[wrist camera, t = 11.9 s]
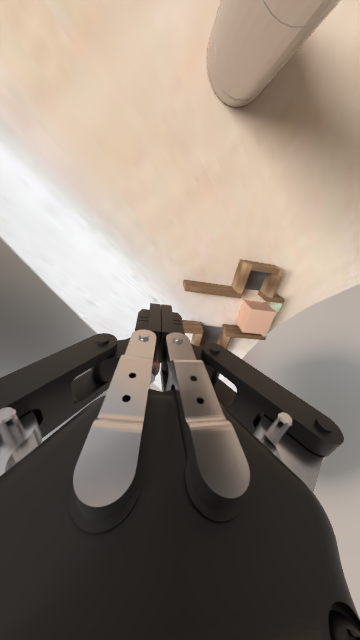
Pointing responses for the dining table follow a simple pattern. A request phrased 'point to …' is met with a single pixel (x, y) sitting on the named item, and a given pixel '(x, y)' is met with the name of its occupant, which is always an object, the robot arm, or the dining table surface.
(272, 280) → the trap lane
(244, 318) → the block
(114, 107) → the dining table surface
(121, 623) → the robot arm
